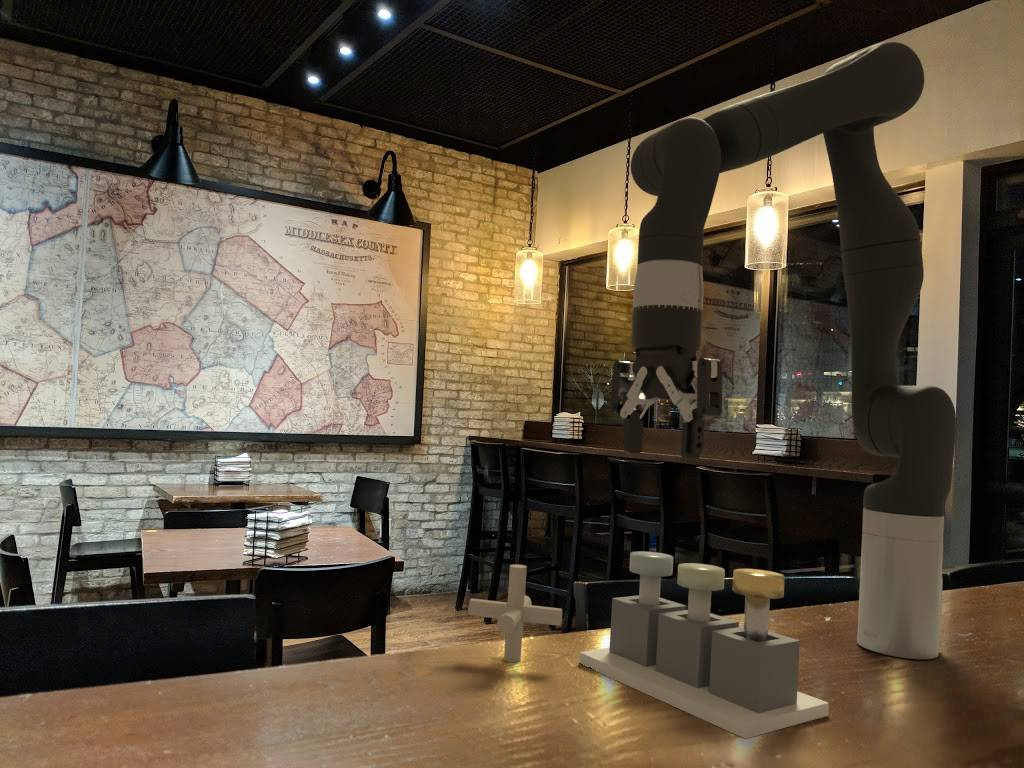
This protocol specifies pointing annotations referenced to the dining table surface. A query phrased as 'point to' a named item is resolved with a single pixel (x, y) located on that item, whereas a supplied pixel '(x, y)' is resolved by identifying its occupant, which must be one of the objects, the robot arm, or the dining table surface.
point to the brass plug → (757, 599)
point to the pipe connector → (515, 613)
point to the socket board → (706, 667)
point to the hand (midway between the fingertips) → (660, 455)
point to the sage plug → (700, 588)
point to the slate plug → (650, 574)
